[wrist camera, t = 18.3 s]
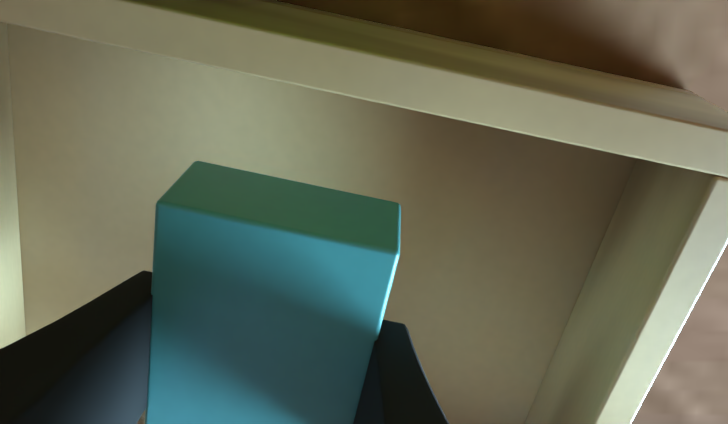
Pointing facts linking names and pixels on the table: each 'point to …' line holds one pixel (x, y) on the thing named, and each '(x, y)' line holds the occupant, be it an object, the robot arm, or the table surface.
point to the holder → (375, 182)
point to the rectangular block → (265, 298)
